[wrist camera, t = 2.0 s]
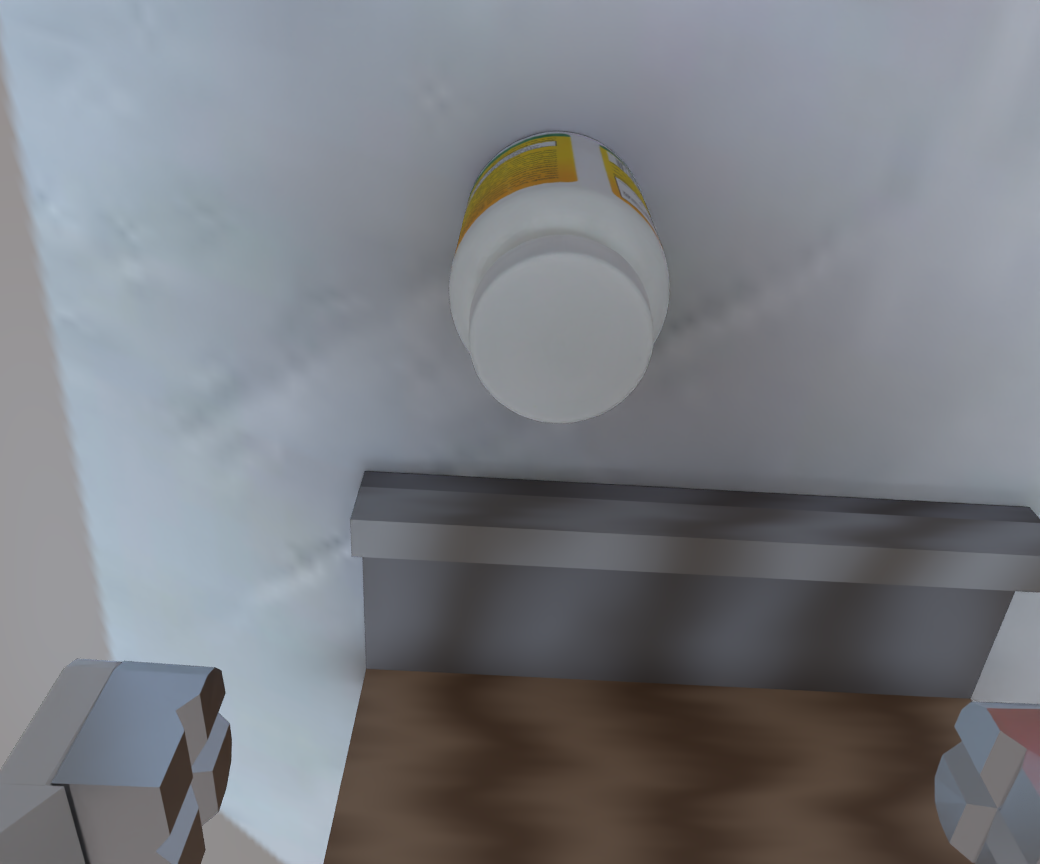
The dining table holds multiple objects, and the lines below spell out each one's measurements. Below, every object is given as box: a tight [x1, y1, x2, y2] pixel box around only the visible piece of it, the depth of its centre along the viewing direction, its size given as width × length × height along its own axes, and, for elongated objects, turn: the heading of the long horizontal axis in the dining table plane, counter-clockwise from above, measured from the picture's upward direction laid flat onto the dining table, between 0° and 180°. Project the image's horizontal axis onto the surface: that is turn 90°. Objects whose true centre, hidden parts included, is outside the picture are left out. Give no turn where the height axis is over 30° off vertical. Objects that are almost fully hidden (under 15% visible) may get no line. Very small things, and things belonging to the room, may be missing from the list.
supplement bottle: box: [449, 131, 670, 424], centre depth 23 cm, size 5×5×10 cm
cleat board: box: [324, 471, 1040, 864], centre depth 30 cm, size 24×10×12 cm, turn 87°
